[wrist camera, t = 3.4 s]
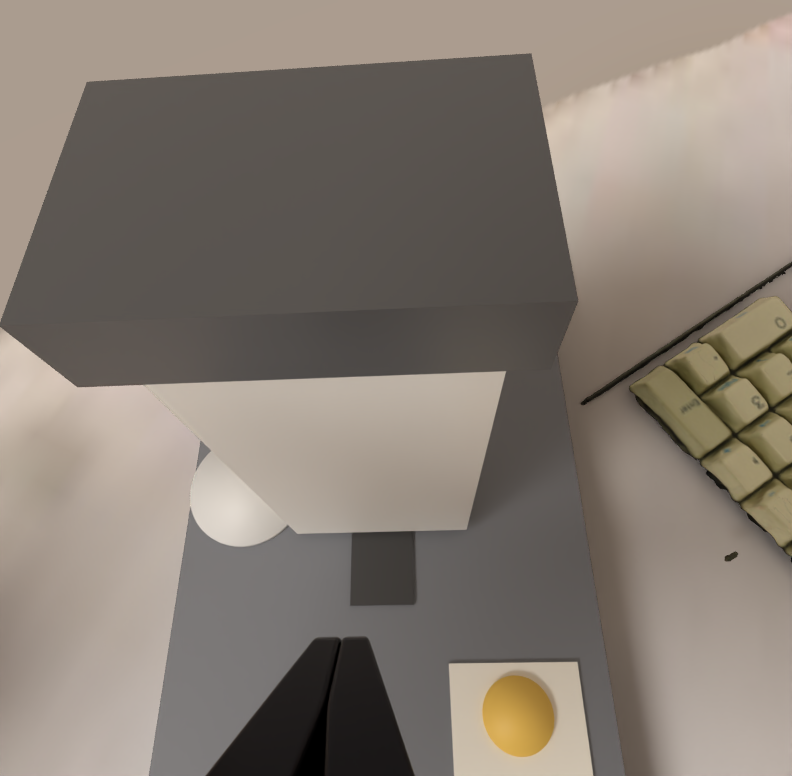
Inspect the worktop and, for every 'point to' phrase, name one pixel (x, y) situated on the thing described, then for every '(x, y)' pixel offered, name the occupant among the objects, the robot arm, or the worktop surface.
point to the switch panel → (408, 613)
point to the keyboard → (733, 407)
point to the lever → (311, 272)
